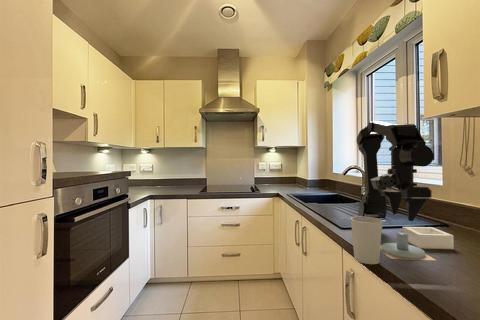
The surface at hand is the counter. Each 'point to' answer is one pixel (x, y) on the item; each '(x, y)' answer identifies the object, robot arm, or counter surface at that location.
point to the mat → (406, 258)
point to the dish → (429, 238)
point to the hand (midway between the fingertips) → (402, 217)
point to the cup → (366, 239)
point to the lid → (403, 248)
